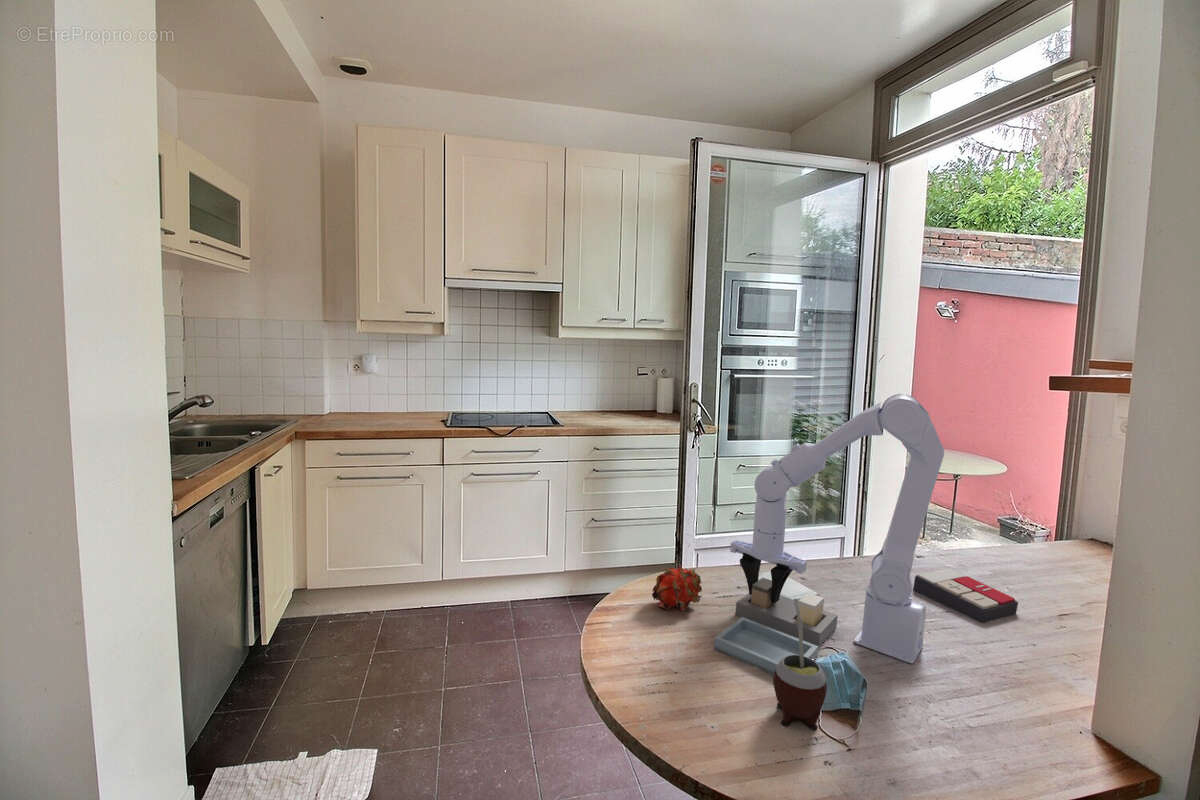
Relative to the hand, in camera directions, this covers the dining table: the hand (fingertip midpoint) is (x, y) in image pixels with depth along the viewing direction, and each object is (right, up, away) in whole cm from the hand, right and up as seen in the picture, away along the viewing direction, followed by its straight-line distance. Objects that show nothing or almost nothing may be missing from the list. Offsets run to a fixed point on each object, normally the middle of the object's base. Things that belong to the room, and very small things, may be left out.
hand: (763, 597), depth 111 cm
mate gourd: (-4, -7, -29) cm, 30 cm away
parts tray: (-4, -5, -14) cm, 15 cm away
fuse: (+7, -4, -5) cm, 10 cm away
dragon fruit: (-17, -3, +2) cm, 17 cm away
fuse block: (+3, -4, -3) cm, 6 cm away
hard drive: (+7, -3, +11) cm, 14 cm away
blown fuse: (0, -3, 0) cm, 3 cm away
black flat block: (+44, -5, +9) cm, 45 cm away
